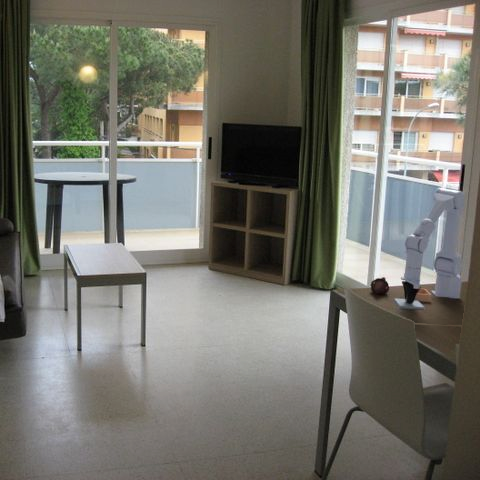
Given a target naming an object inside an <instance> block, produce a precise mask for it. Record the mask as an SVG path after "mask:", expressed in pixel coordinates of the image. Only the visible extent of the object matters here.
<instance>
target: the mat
mask: <svg viewBox="0 0 480 480" xmlns="http://www.w3.org/2000/svg"><path fill="white" fill-rule="evenodd" d="M392 302H393V303H394V305H395V306H396V307H397V308H398V309H403V310H412V309H411V308H400V307H399V306H398V305H397V304H396V302H395V301H394V299H392ZM419 310H421V311H422V310H425V311H426V308H425V307H424V309H419Z"/></svg>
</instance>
